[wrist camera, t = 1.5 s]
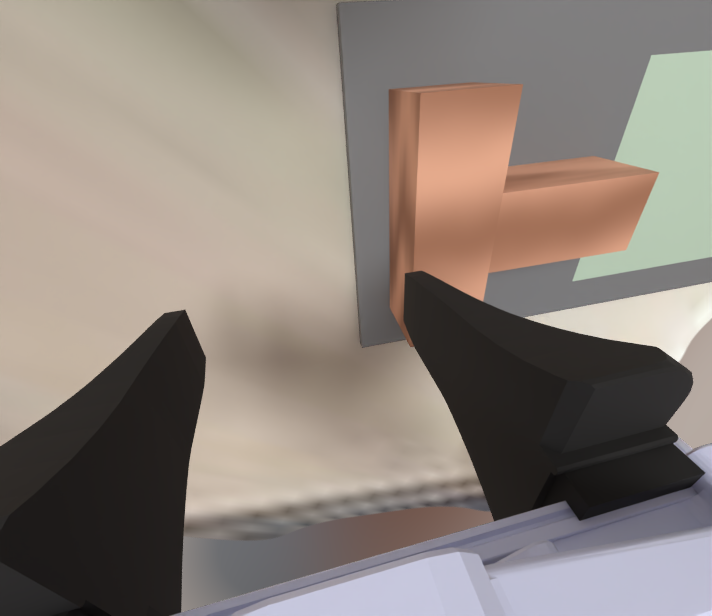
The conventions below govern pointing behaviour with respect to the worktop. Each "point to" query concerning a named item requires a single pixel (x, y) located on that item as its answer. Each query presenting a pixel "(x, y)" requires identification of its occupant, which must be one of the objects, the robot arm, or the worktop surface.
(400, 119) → the t block
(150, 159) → the worktop surface
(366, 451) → the worktop surface
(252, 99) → the worktop surface
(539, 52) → the mat
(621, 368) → the robot arm
